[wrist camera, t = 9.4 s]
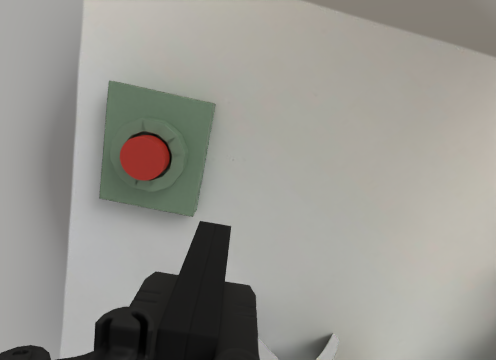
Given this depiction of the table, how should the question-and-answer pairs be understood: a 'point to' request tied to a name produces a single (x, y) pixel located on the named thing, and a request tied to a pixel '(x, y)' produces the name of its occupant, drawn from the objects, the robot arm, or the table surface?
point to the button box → (166, 129)
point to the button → (144, 157)
